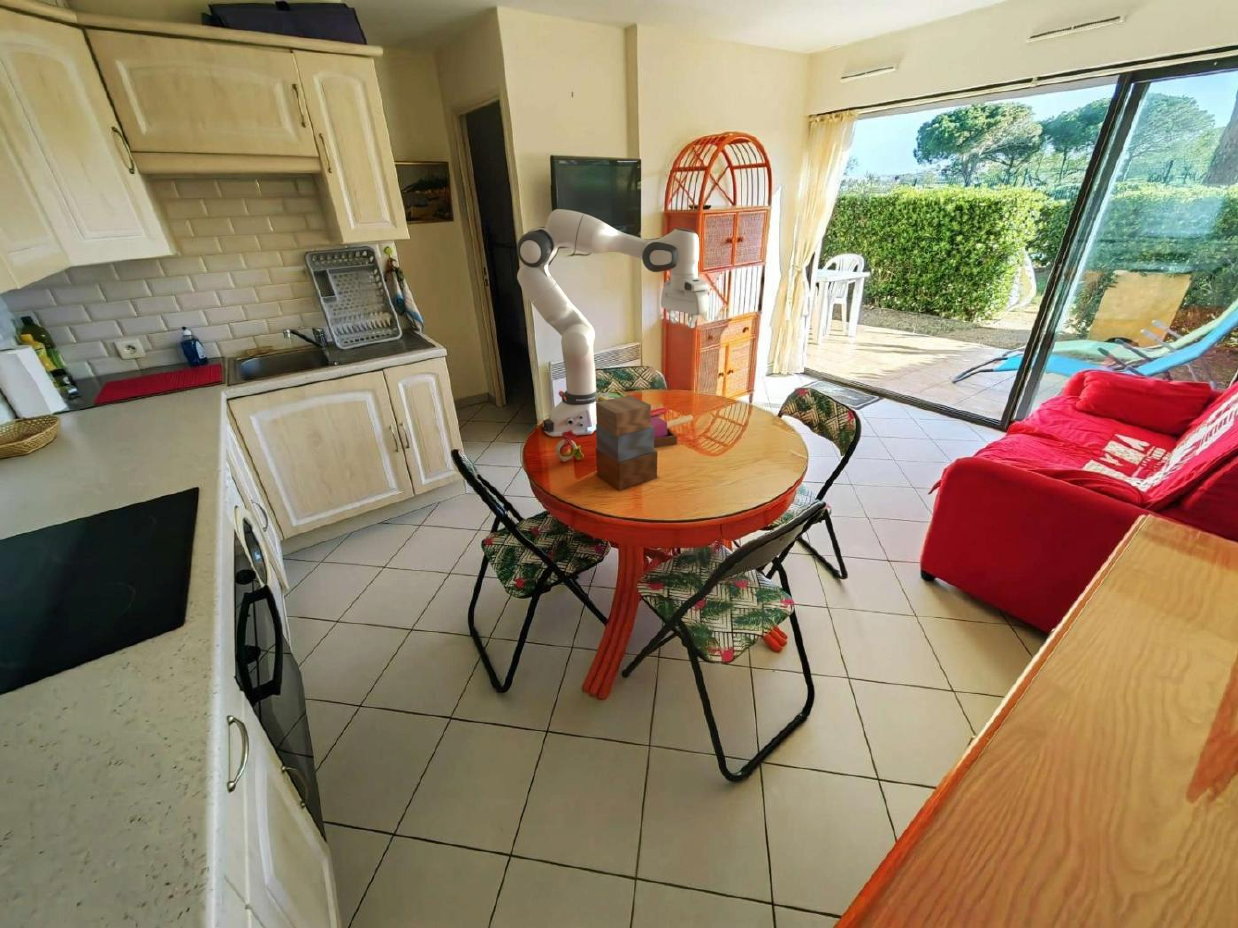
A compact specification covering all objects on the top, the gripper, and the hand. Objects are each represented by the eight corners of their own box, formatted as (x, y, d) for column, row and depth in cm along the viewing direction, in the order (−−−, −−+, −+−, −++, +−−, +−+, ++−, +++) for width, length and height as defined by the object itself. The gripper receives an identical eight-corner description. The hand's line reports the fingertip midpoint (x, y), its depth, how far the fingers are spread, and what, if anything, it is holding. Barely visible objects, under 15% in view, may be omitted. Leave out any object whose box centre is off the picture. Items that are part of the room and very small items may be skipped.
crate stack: (633, 462, 168) (632, 392, 157) (657, 477, 158) (658, 404, 147) (596, 473, 161) (593, 401, 150) (619, 490, 151) (618, 414, 141)
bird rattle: (568, 471, 168) (590, 455, 170) (554, 446, 161) (576, 429, 163) (560, 464, 172) (581, 448, 175) (546, 439, 166) (568, 423, 168)
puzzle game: (611, 407, 202) (593, 392, 218) (612, 418, 204) (594, 403, 220) (638, 402, 206) (619, 388, 222) (638, 413, 208) (619, 399, 225)
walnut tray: (632, 450, 176) (632, 442, 175) (621, 437, 187) (621, 429, 185) (676, 443, 181) (677, 436, 179) (662, 430, 191) (663, 423, 190)
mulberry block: (685, 422, 194) (685, 407, 191) (696, 428, 188) (696, 413, 185) (640, 436, 185) (640, 420, 183) (651, 442, 180) (650, 427, 177)
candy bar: (663, 411, 210) (663, 404, 209) (669, 413, 207) (669, 406, 206) (631, 419, 203) (631, 412, 201) (636, 422, 200) (636, 414, 199)
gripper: (656, 280, 174) (656, 321, 180) (697, 286, 158) (694, 331, 164) (671, 279, 177) (670, 319, 183) (712, 284, 161) (709, 329, 168)
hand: (682, 325), depth 173 cm, fingers open, 8 cm apart
